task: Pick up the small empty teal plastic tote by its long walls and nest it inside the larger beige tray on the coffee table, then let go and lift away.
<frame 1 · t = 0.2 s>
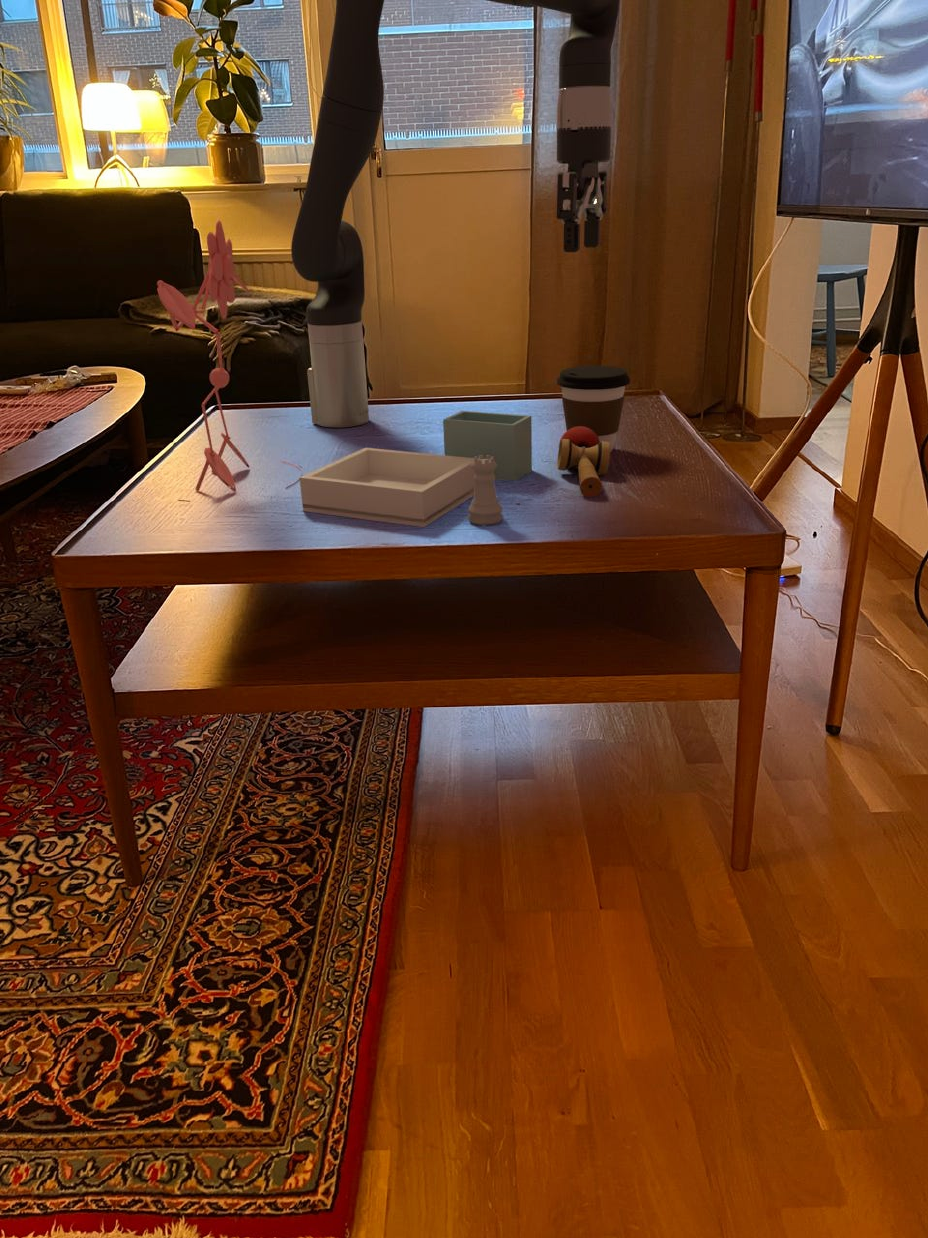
hand: (581, 249, 142), 29 cm above the table, tool pointing down, fingers open, 8 cm apart
kendama: (584, 480, 137), on the table
pink thin branched figure: (251, 481, 142), on the table
coffee cup: (591, 452, 150), on the table
teal tote: (488, 472, 141), on the table
beige tray: (393, 500, 130), on the table
rook chess piece: (485, 522, 122), on the table
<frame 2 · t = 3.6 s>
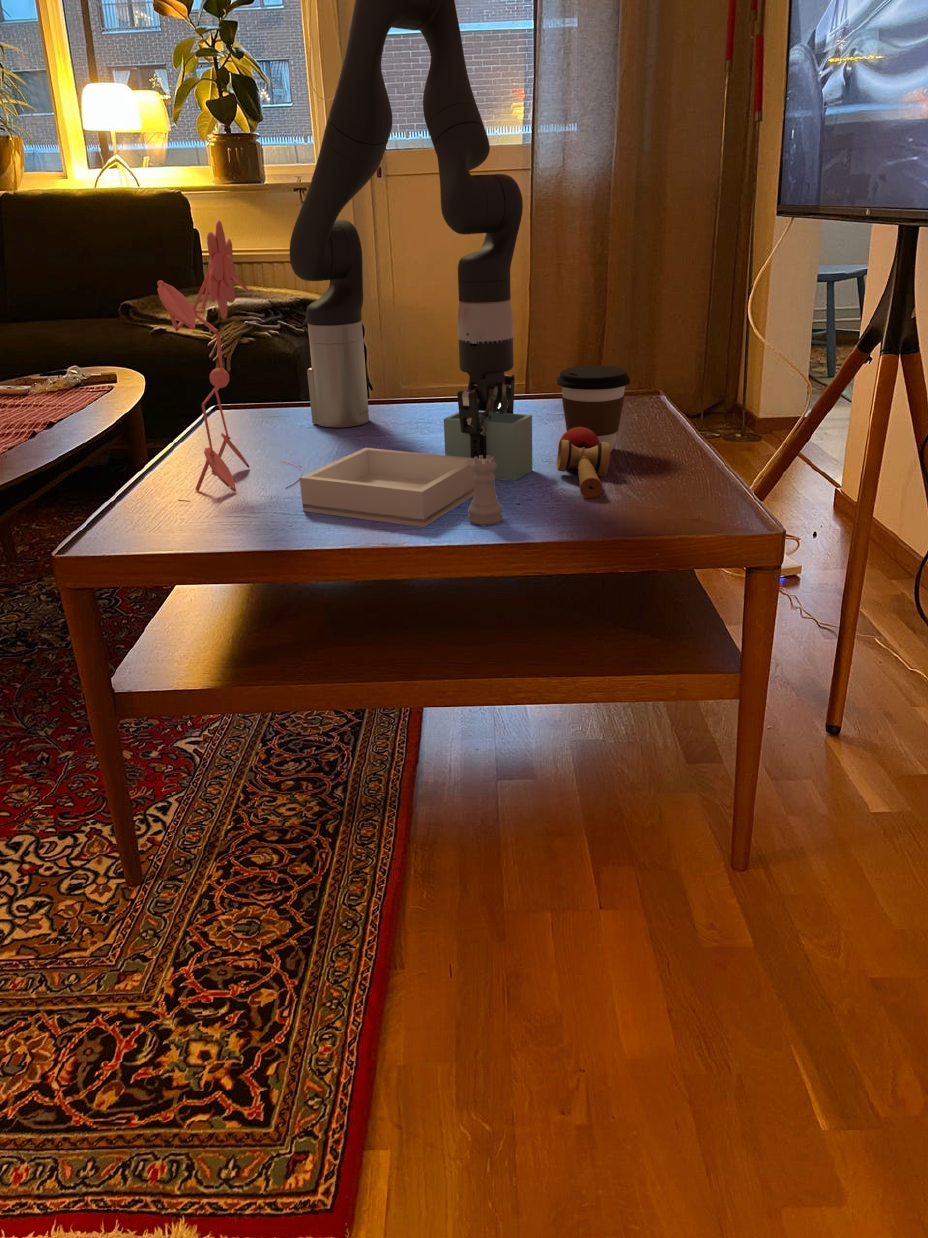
hand: (488, 454, 140), 3 cm above the table, tool pointing down, fingers closed on teal tote, 6 cm apart
teal tote: (489, 471, 141), on the table, touching gripper
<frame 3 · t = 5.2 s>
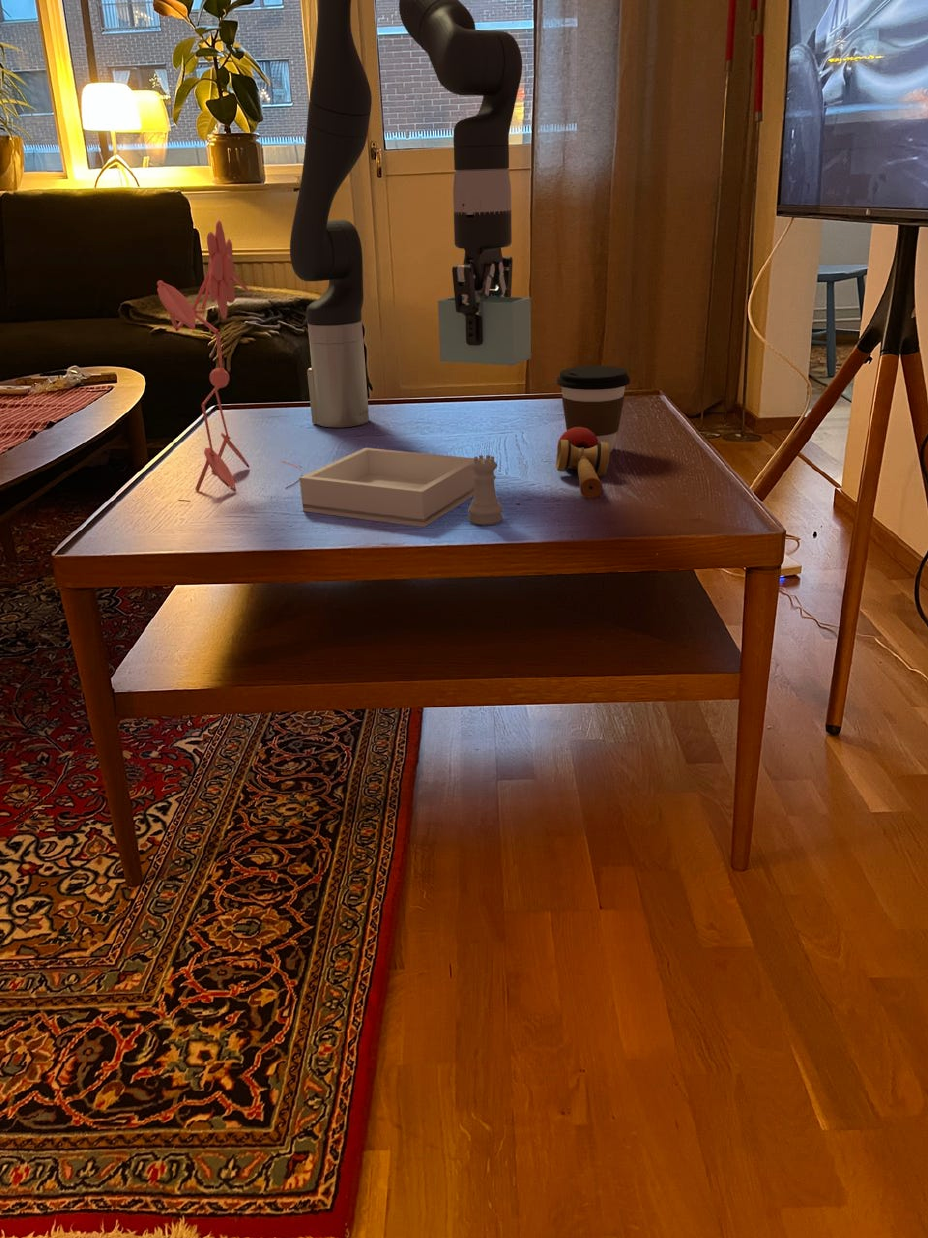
hand: (485, 340, 134), 18 cm above the table, tool pointing down, fingers closed on teal tote, 6 cm apart
teal tote: (485, 359, 135), point 16 cm above the table, touching gripper
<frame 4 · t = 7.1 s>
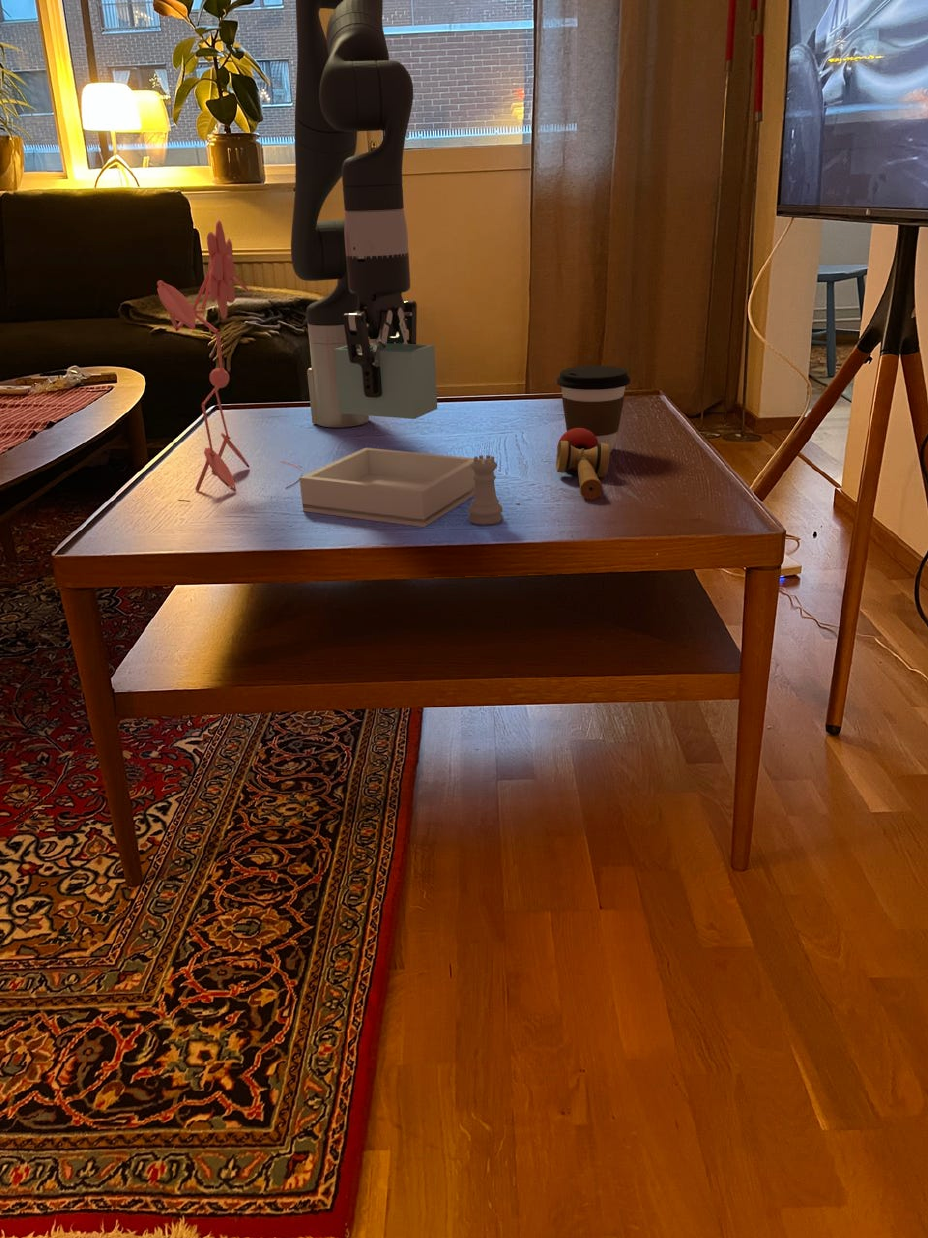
hand: (386, 391, 124), 15 cm above the table, tool pointing down, fingers closed on teal tote, 6 cm apart
teal tote: (388, 410, 125), point 12 cm above the table, touching gripper
when the fingers open (5 cm above the table, at t = 9.6 s): teal tote drops 1 cm, resting on beige tray.
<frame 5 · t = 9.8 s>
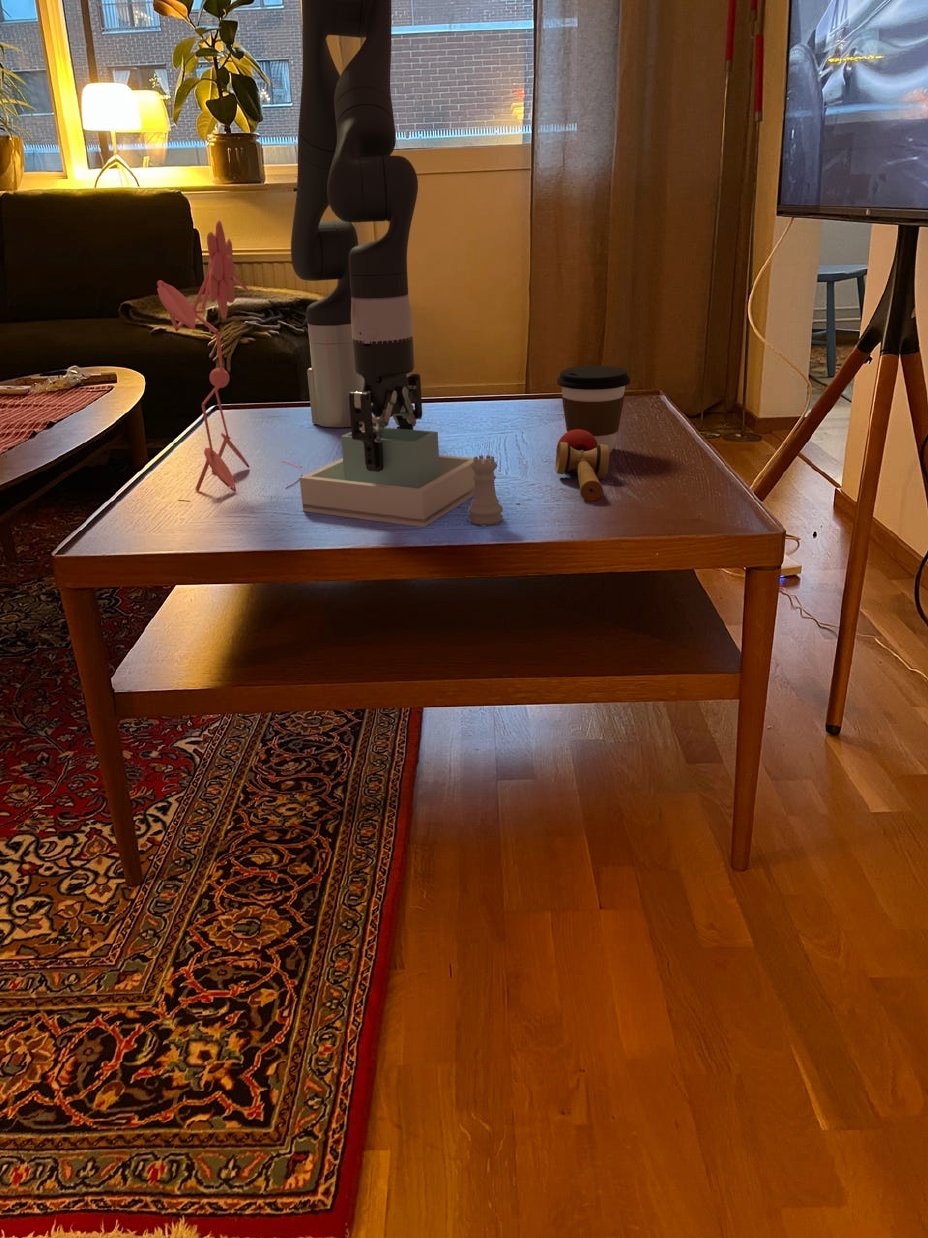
hand: (391, 462, 128), 5 cm above the table, tool pointing down, fingers open, 7 cm apart
teal tote: (393, 493, 130), point 1 cm above the table, touching beige tray
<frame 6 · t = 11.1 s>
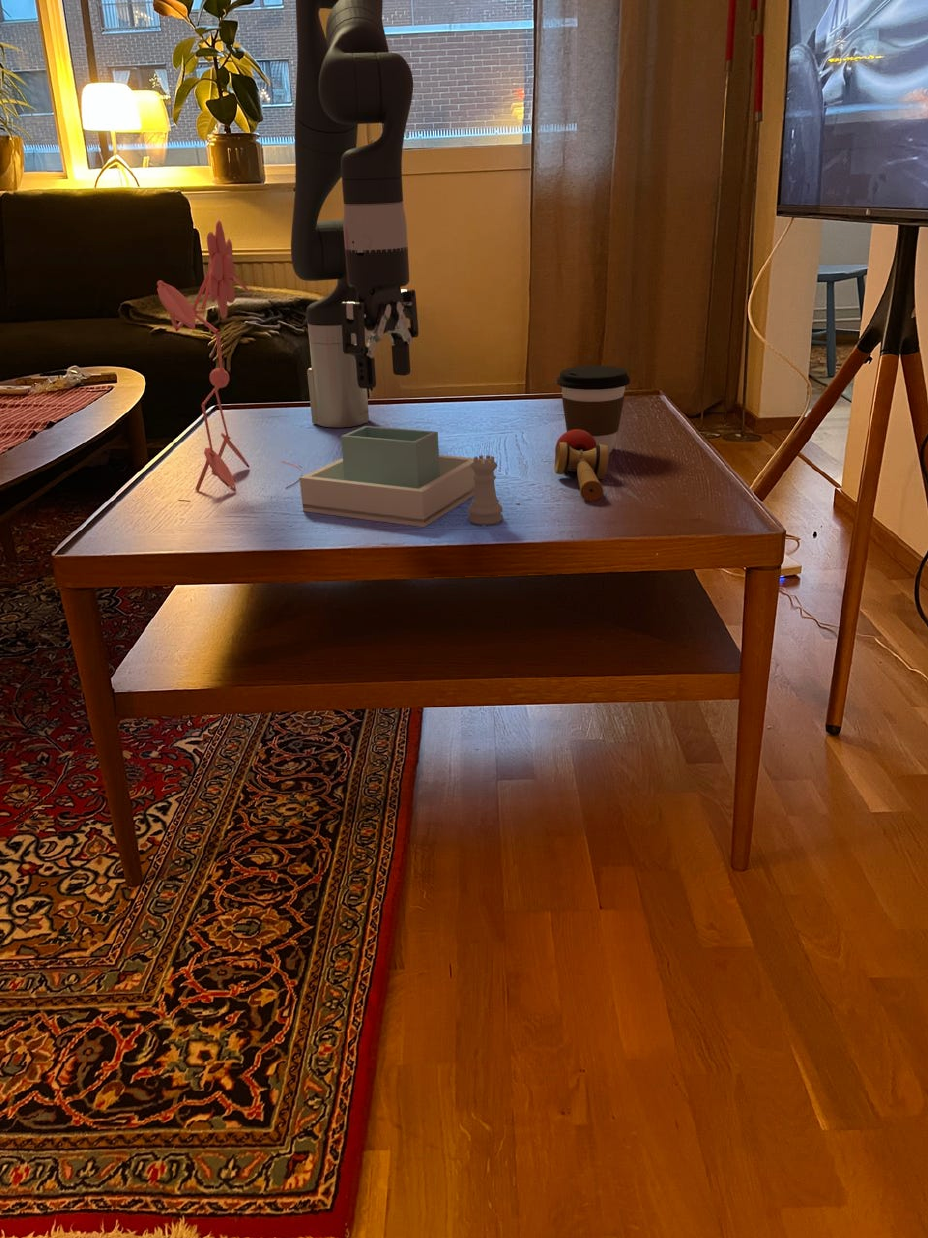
hand: (384, 381, 124), 16 cm above the table, tool pointing down, fingers open, 8 cm apart
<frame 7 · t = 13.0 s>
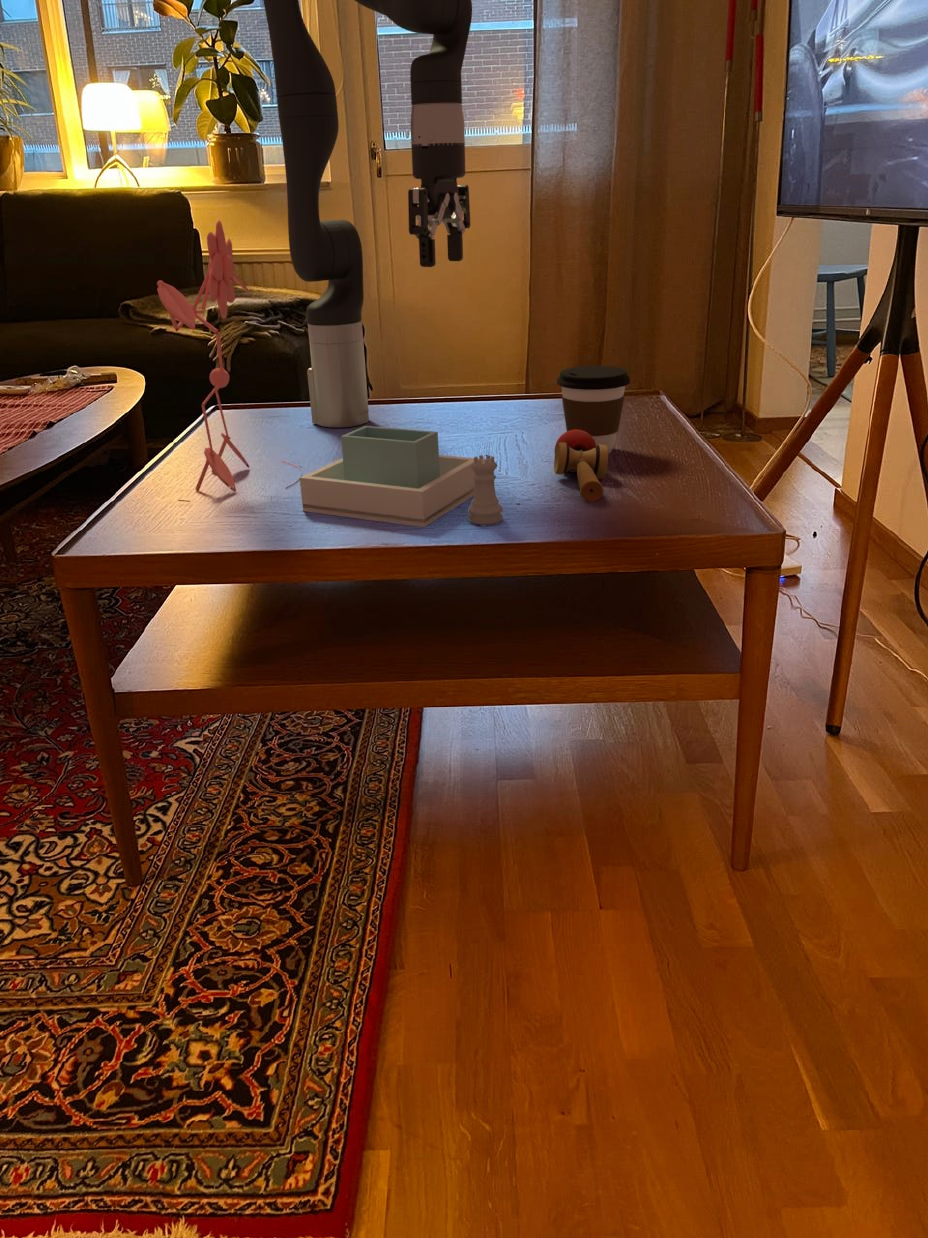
hand: (441, 263, 144), 27 cm above the table, tool pointing down, fingers open, 8 cm apart
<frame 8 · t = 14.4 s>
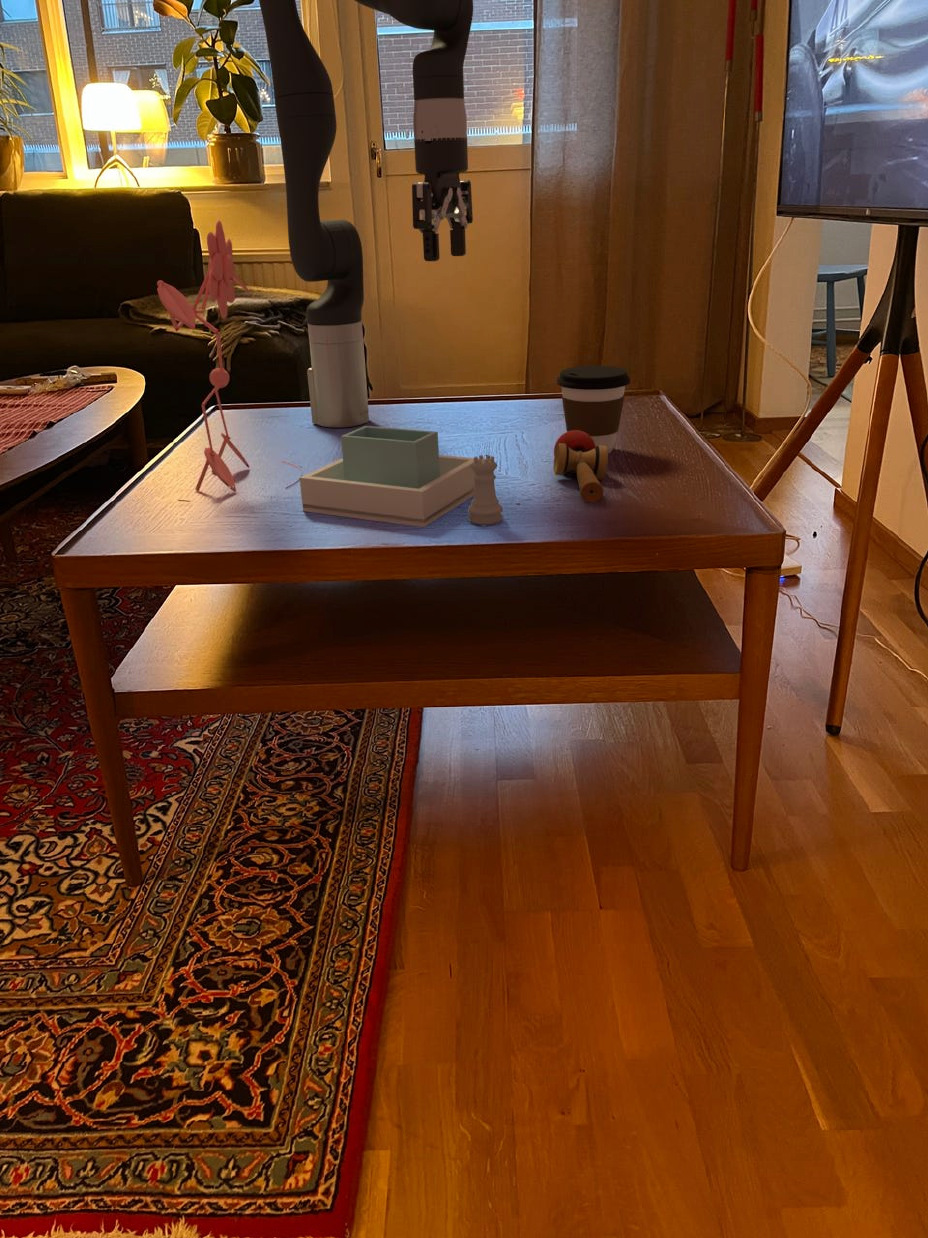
hand: (445, 258, 145), 28 cm above the table, tool pointing down, fingers open, 8 cm apart
at the end: teal tote 0.1 cm off-centre on the beige tray, point 1.0 cm above the beige tray's base; teal tote tilted 0°; the gripper is holding nothing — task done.
